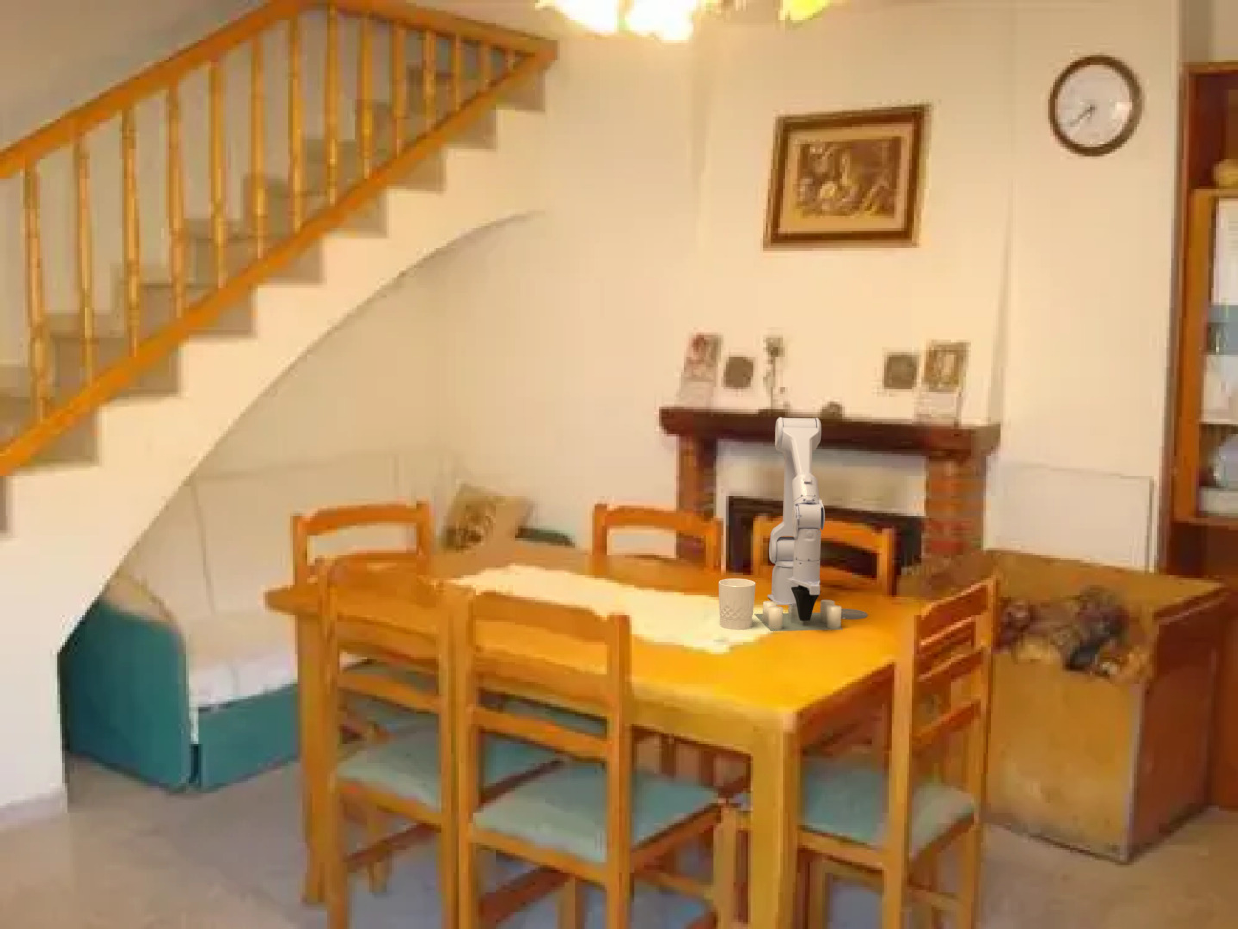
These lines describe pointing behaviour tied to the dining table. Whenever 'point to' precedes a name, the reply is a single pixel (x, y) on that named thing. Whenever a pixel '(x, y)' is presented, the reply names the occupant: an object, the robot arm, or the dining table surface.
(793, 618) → the faceted crystal gem
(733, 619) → the white cup
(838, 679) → the dining table surface
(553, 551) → the dining table surface
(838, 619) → the beige capsules
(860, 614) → the grey round coaster
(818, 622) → the mat
